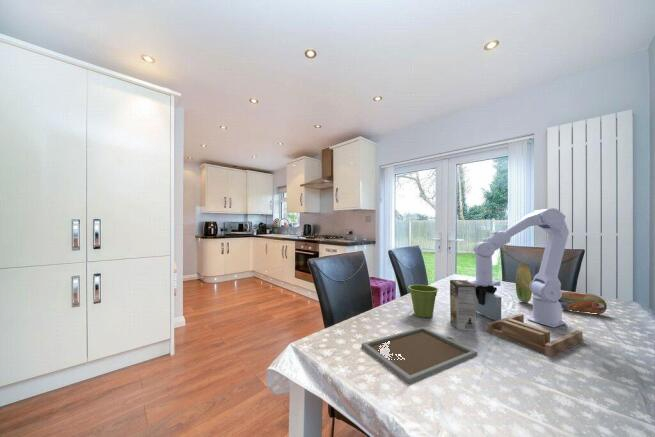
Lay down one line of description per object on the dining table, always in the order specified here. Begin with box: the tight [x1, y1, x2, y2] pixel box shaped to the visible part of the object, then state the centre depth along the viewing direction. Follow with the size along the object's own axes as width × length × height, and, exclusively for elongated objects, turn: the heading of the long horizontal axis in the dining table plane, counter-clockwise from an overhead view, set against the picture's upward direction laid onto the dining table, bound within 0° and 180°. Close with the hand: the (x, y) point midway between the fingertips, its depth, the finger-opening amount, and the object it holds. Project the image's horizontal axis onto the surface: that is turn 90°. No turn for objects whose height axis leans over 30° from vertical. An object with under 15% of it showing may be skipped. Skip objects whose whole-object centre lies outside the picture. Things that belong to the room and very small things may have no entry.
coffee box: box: [449, 279, 477, 332], centre depth 89 cm, size 9×6×16 cm
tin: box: [558, 291, 608, 315], centre depth 103 cm, size 15×3×8 cm, turn 58°
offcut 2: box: [507, 319, 551, 344], centre depth 79 cm, size 2×11×4 cm, turn 25°
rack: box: [486, 313, 584, 357], centre depth 80 cm, size 22×17×3 cm
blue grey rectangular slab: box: [476, 292, 502, 321], centre depth 98 cm, size 2×12×9 cm, turn 13°
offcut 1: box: [501, 321, 545, 347], centre depth 77 cm, size 2×11×4 cm, turn 26°
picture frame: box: [361, 326, 478, 385], centre depth 71 cm, size 19×2×30 cm
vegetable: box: [515, 261, 533, 304], centre depth 115 cm, size 6×6×20 cm
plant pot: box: [407, 284, 439, 318], centre depth 99 cm, size 12×12×11 cm
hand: (484, 304), depth 98 cm, fingers closed on blue grey rectangular slab, 2 cm apart
